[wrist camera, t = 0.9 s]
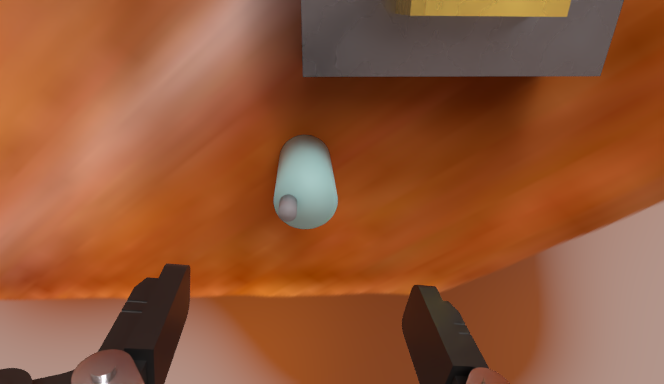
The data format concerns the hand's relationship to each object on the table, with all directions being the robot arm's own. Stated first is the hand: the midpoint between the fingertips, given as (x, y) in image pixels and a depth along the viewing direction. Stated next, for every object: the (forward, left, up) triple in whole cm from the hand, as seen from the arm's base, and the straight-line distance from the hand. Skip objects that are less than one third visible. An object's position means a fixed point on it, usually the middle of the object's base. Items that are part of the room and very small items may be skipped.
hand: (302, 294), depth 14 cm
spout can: (0, +3, -21) cm, 21 cm away
